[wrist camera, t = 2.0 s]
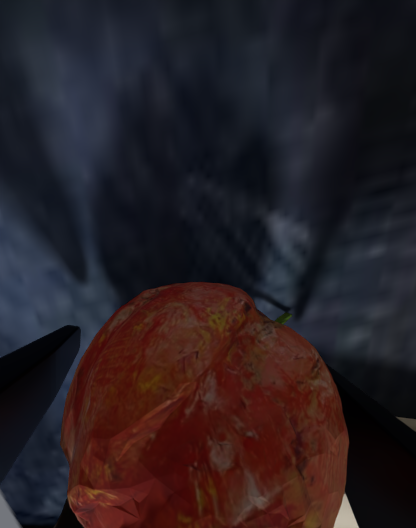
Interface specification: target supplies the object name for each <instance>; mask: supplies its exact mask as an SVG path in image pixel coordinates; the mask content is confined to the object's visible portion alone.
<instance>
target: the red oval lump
mask: <svg viewBox="0 0 416 528" xmlns="http://www.w3.org/2000/svg"><path fill="white" fill-rule="evenodd" d="M291 316H292V315H291V314H289V313H287V312H286V313H284V314H283V315H281V316H280V317H279V318H277V319H276V320H275V321H273V320H270V319H269V318H268V317H267V316H265V315H264V314H263V313H262V312H260V311H259V310H257V308H256V306H255V304H254V301H253V299H252V298H251V297H250V296H249V295H248V294H247V293H246V292H244V291H243V290H242V289H240V288H236V287H233V286H230V285H225V284H220V283H207V282H188V283H175V284H170V285H166V286H161V287H157V288H154V289H148V290H145V291H143V292H142V293H140V294H139V295H138V296H136V297H135V298H133V299H132V300H131V301H129V302H128V303H127V304H125V305H123V306H122V307H120V308H119V309H118V310H116V312H115V313H114V314H113V315H112V316H111V317H110V319H109V320H108V321H107V322H106V323H105V324H104V326H103V327H102V328H101V329H100V330H99V332H98V333H97V334H96V336H95V337H94V339H93V340H92V342H91V344H90V345H89V347H88V349H87V350H86V352H85V353H84V355H83V357H82V358H81V360H80V363H79V365H78V367H77V369H76V372H75V375H74V378H73V380H72V383H71V385H70V389H69V392H68V394H67V397H66V402H65V407H64V414H63V421H62V428H61V441H60V445H61V447H62V450H63V452H64V454H65V456H66V458H67V461H68V463H69V467H70V470H69V480H68V491H67V496H68V497H67V499H66V502H65V505H64V508H63V510H62V513H61V515H60V517H59V519H58V521H57V523H56V525H55V526H54V527H53V528H334V524H335V521H336V518H337V515H338V513H339V510H340V507H341V504H342V500H343V496H344V491H345V484H346V473H347V455H348V448H349V437H348V431H347V427H346V423H345V419H344V416H343V412H342V403H341V399H340V396H339V393H338V390H337V387H336V384H335V382H334V380H333V378H332V376H331V373H330V371H329V370H328V368H327V366H326V365H325V363H324V361H323V360H322V358H321V356H320V355H319V353H318V351H317V350H316V349H315V348H314V346H312V345H311V344H310V343H309V342H308V341H307V340H306V339H304V338H303V337H302V336H300V335H299V334H298V333H296V332H295V331H294V330H292V329H291V328H289V327H287V326H286V325H283V324H284V323H285V322H286V321H287V320H288V319H289V318H290V317H291Z"/></svg>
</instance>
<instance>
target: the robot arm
mask: <svg viewBox="0 0 416 528" xmlns="http://www.w3.org/2000/svg"><path fill="white" fill-rule="evenodd" d="M80 335H81V329H80V327H79V326H73V325H66V326H64V327H62V328H60V329H58V330H56V331H54V332H52V333H50V334H48V335H46V336H44V337H42V338H40V339H38V340H36V341H34V342H32V343H30V344H28V345H25V346H23V347H21V348H19V349H17V350H15V351H13V352H11V353H9V354H7V355H5V356H3V357H1V358H0V484H1V483H2V481H3V480H4V478H5V476H6V475H7V473H8V472H9V470H10V469H11V467H12V465H13V464H14V462H15V461H16V459H17V457H18V456H19V454H20V453H21V451H22V450H23V448H24V446H25V445H26V443H27V442H28V440H29V438H30V437H31V435H32V434H33V432H34V430H35V429H36V427H37V426H38V424H39V423H40V421H41V419H42V418H43V416H44V415H45V413H46V411H47V410H48V408H49V407H50V405H51V403H52V402H53V400H54V398H55V397H56V395H57V393H58V391H59V389H60V387H61V385H62V383H63V381H64V379H65V377H66V375H67V373H68V371H69V369H70V367H71V365H72V363H73V361H74V359H75V357H76V355H77V353H78V351H79V348H80ZM325 365H326V366H327V368H328V370H329V371H330V373H331V376H332V378H333V380H334V382H335V384H336V387H337V390H338V393H339V396H340V399H341V403H342V412H343V416H344V419H345V423H346V427H347V431H348V437H349V448H348V455H347V473H346V484H345V494H346V496H347V499H348V502H349V504H350V507H351V509H352V512H353V514H354V517H355V519H356V522H357V525H358V527H359V528H416V432H415V431H414V430H413V429H411V428H410V427H409V426H407V425H406V424H405V423H403V422H402V421H401V420H399V419H398V418H397V417H396V416H394V415H393V414H392V413H390V412H389V411H388V410H386V409H385V408H384V407H382V406H381V405H380V404H378V403H377V402H376V401H374V400H373V399H372V398H370V397H369V396H368V395H366V394H365V393H364V392H363V391H361V390H360V389H359V388H357V387H356V386H355V385H353V384H352V383H351V382H349V381H348V380H347V379H345V378H344V377H343V376H341V375H340V374H339V373H337V372H336V371H335V370H334V369H332V368H331V367H330V366H328V365H327V364H325Z"/></svg>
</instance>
